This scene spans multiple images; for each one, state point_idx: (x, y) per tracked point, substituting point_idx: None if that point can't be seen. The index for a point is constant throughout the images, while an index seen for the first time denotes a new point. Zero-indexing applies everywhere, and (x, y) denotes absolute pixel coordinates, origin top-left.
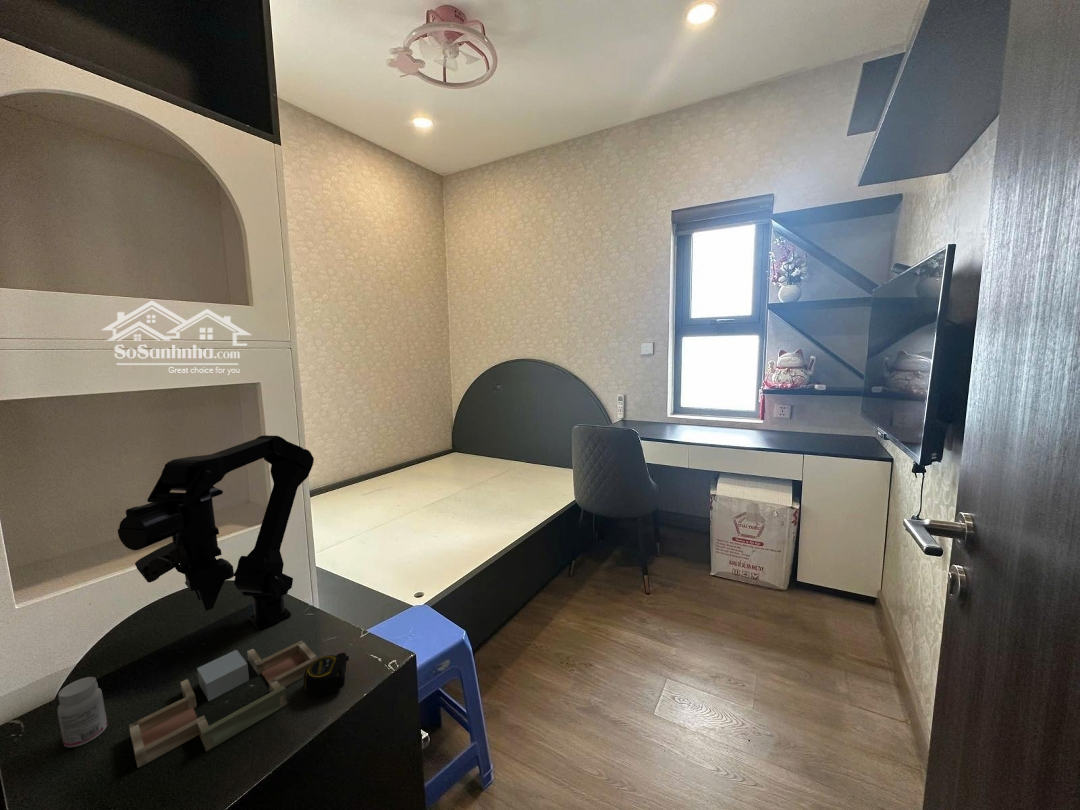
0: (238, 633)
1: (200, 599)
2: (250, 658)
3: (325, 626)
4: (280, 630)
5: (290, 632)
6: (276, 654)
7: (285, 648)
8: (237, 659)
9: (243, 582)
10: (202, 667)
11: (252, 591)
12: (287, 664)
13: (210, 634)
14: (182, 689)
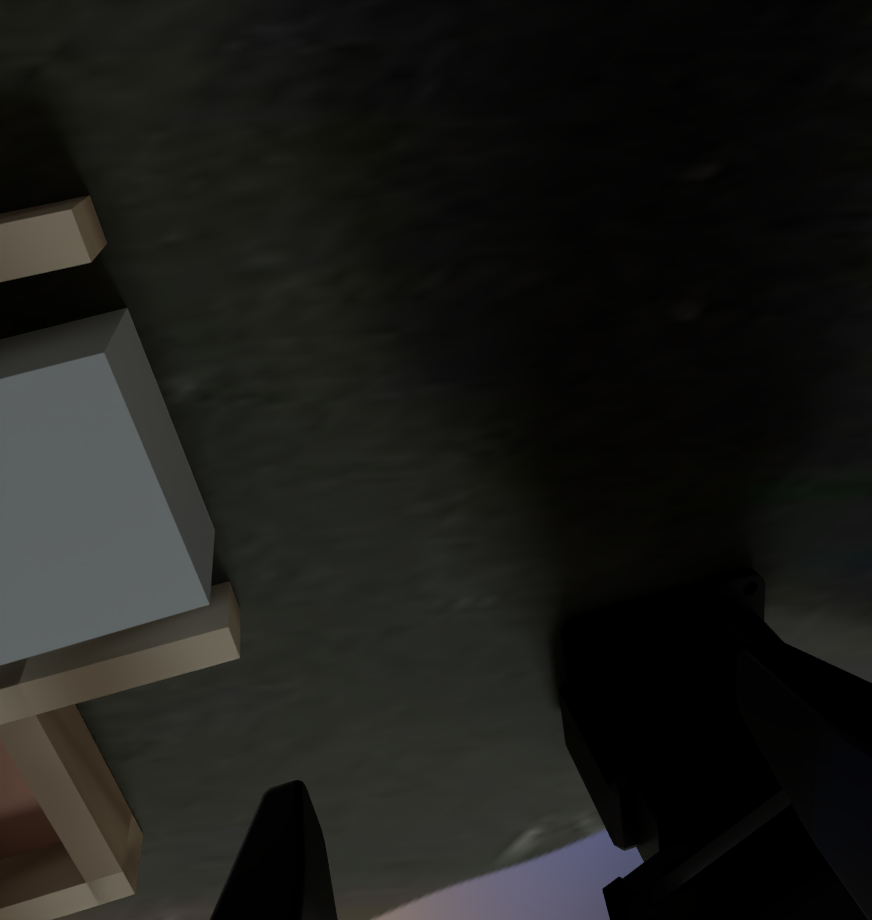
0: (632, 509)
1: (737, 666)
2: (154, 631)
3: None
4: (464, 721)
5: (396, 768)
6: (49, 787)
7: (93, 826)
8: (45, 620)
9: (858, 915)
10: (88, 391)
11: (736, 864)
12: (3, 785)
13: (774, 346)
14: (4, 219)
